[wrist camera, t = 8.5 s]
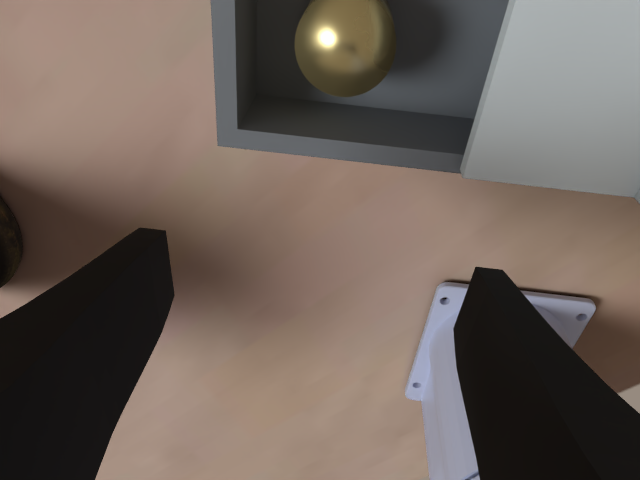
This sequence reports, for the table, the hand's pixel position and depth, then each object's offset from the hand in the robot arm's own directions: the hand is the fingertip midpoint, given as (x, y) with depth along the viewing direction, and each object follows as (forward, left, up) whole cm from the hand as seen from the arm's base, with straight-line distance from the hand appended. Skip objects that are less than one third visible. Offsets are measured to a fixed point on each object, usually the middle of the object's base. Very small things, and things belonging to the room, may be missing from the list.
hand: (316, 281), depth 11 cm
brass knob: (+3, 0, -10) cm, 10 cm away
